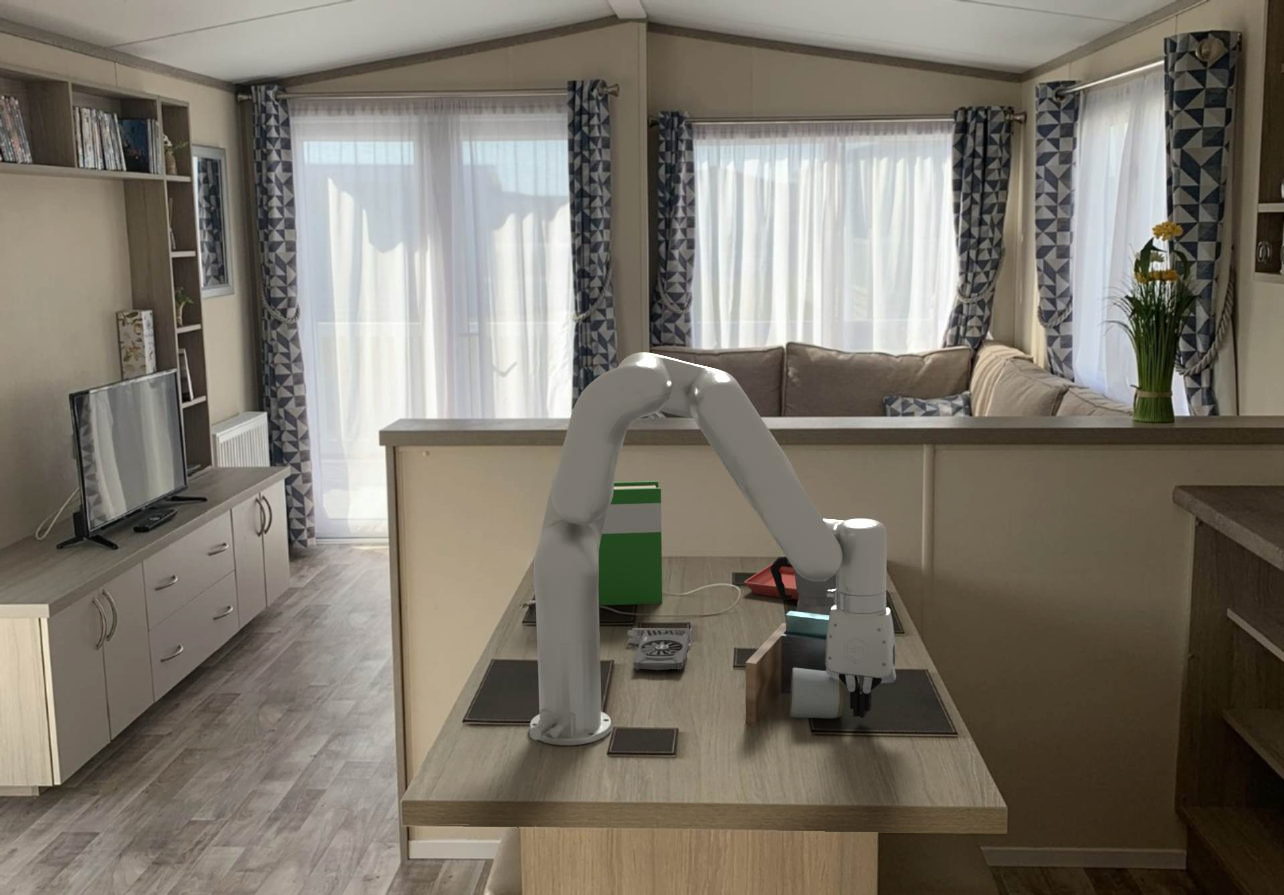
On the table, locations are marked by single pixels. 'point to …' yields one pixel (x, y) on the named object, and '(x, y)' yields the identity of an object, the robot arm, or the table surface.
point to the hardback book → (631, 546)
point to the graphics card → (661, 648)
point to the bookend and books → (803, 645)
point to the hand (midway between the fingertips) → (860, 713)
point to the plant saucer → (773, 582)
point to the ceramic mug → (815, 694)
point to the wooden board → (764, 677)
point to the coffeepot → (805, 590)
